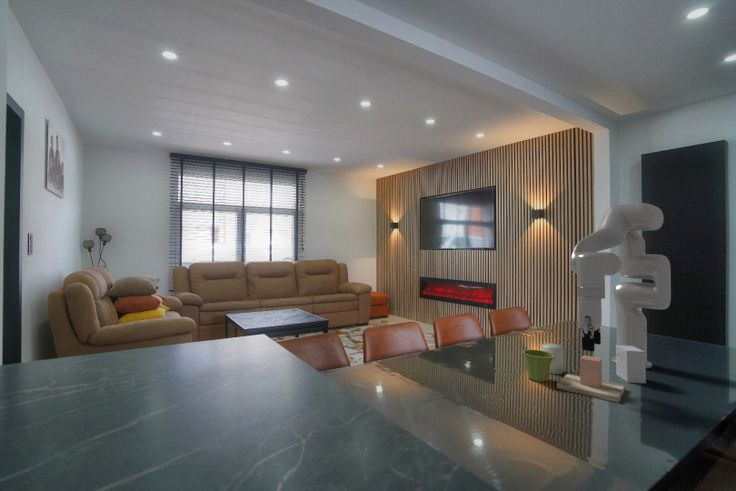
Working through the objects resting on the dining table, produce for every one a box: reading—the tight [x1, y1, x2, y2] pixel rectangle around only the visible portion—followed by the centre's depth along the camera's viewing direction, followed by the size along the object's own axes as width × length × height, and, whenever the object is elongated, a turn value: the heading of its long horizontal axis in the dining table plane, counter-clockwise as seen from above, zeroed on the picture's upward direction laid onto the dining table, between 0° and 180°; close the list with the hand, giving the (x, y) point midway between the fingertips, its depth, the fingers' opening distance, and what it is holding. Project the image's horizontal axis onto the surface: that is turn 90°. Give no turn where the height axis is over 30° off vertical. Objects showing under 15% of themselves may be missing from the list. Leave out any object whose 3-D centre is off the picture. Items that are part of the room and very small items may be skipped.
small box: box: [615, 344, 647, 384], centre depth 124 cm, size 8×6×10 cm
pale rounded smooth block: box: [541, 343, 565, 375], centre depth 132 cm, size 7×7×9 cm
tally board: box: [556, 372, 626, 404], centre depth 114 cm, size 14×16×2 cm
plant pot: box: [522, 349, 554, 383], centre depth 123 cm, size 9×9×9 cm
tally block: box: [579, 354, 603, 388], centre depth 114 cm, size 5×5×8 cm
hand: (591, 347), depth 115 cm, fingers open, 9 cm apart
